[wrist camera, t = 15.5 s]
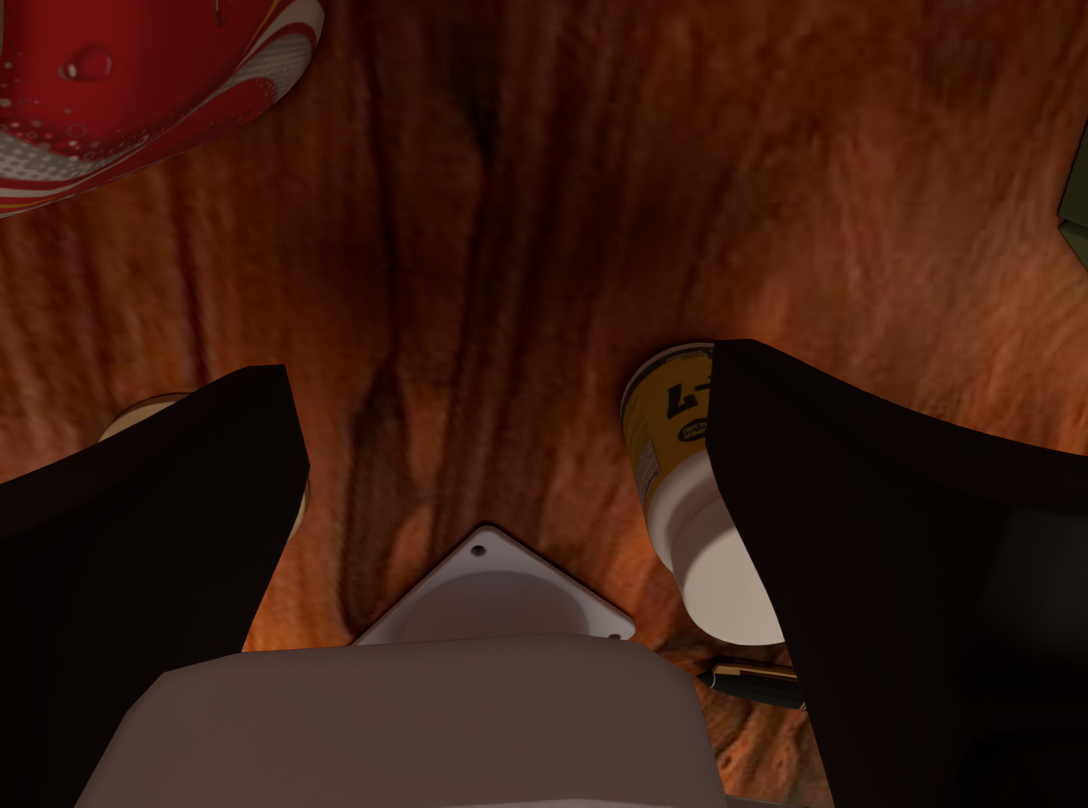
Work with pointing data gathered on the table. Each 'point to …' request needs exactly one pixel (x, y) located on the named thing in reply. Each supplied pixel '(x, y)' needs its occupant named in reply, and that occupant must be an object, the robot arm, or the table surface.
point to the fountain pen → (756, 684)
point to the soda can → (135, 84)
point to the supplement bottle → (691, 497)
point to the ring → (1077, 204)
